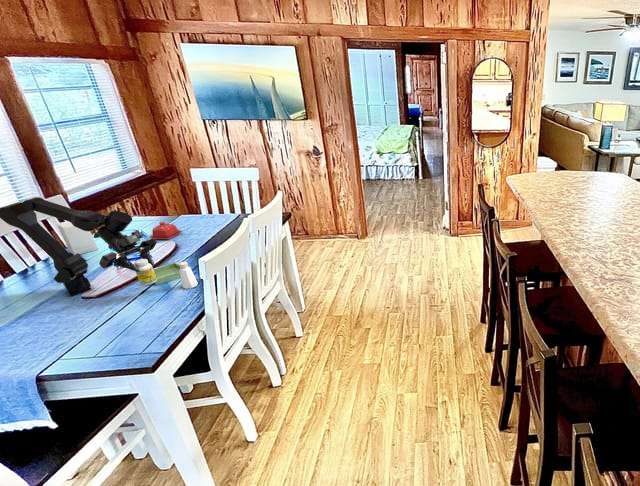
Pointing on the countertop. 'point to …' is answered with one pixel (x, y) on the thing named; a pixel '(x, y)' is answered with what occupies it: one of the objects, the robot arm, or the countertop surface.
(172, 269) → the green tray
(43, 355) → the countertop surface
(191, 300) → the countertop surface
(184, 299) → the countertop surface
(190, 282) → the pepper shaker
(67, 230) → the rectangular carton
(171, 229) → the butter dish
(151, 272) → the supplement bottle
